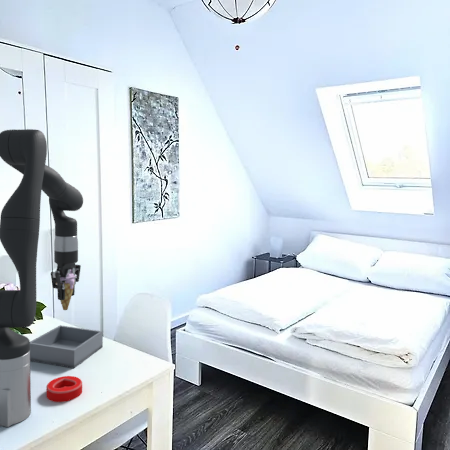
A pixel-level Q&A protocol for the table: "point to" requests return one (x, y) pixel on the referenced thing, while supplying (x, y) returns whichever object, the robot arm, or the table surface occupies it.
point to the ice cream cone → (68, 289)
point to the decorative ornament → (64, 389)
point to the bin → (66, 346)
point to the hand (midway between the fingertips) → (66, 297)
